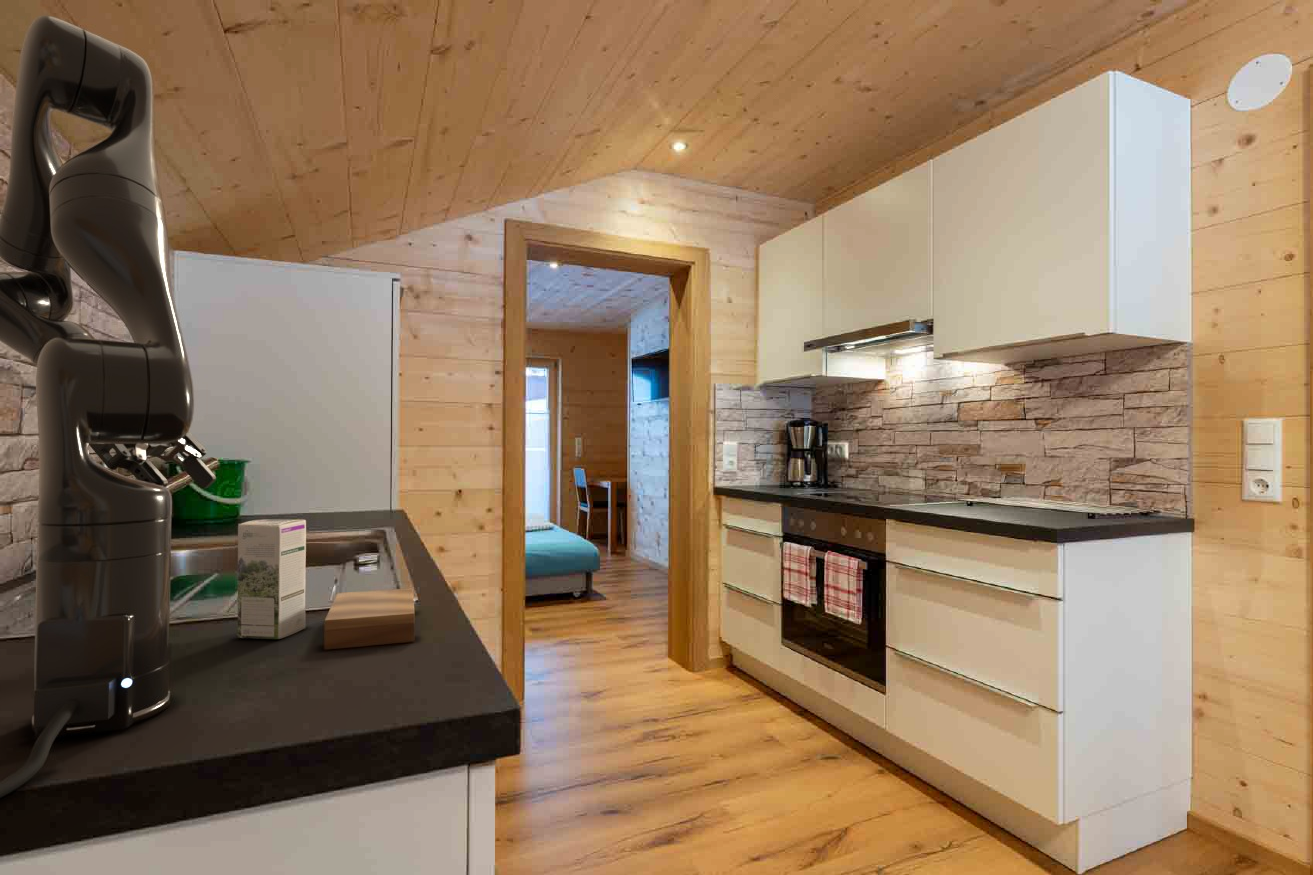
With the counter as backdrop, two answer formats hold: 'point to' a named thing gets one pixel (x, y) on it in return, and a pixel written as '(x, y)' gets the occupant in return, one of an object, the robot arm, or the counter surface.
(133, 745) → the counter surface
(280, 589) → the syrup box
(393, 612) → the shelf
